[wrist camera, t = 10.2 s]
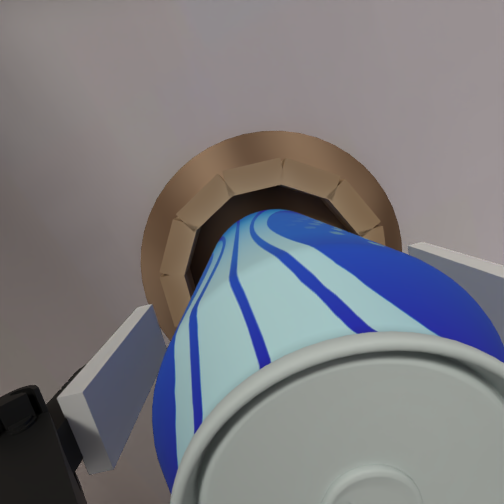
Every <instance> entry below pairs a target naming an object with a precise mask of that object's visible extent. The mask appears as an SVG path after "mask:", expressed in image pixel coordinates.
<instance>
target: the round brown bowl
mask: <svg viewBox="0 0 504 504" xmlns="http://www.w3.org/2000/svg"><path fill="white" fill-rule="evenodd" d="M270 209H282V210H289V211H293V212H297V213H300V214H302V215H305V216H308V217H310V218H313V219H315V220H318V221H321V222H323V223H326V224H329V225H331V226H334V227H337V228H339V229H342V230H345V231H347V232H350V233H352V234H355V235H358V236H360V237H363V238H366V239H368V240H371V241H374V242H376V243H379V244H382V245H384V246H387V247H389V248H392V249H395V250H397V251H400V252H402V242H401V236H400V230H399V225H398V222H397V219H396V216H395V213H394V210H393V207H392V205H391V203H390V201H389V199H388V197H387V195H386V193H385V192H384V190H383V189H382V187H381V186H380V184H379V183H378V182H377V180H376V179H375V177H374V176H373V175H372V174H371V173H370V172H369V171H368V170H367V169H366V168H365V167H364V166H363V165H362V164H361V163H360V162H358V161H357V160H356V159H355V158H354V157H352V156H351V155H350V154H348V153H347V152H345V151H343V150H342V149H340V148H338V147H337V146H335V145H333V144H331V143H328V142H326V141H323V140H321V139H319V138H316V137H312V136H308V135H305V134H301V133H294V132H286V131H261V132H255V133H249V134H243V135H240V136H236V137H233V138H230V139H227V140H224V141H222V142H220V143H218V144H216V145H214V146H211V147H209V148H207V149H206V150H204V151H203V152H201V153H200V154H198V155H197V156H195V157H194V158H192V159H191V160H190V161H189V162H188V163H187V164H185V165H184V166H183V167H182V168H181V169H180V170H179V171H178V172H177V173H176V174H175V175H174V176H173V177H172V179H171V180H170V181H169V182H168V183H167V184H166V186H165V187H164V189H163V190H162V192H161V194H160V195H159V197H158V198H157V200H156V202H155V204H154V206H153V208H152V210H151V213H150V215H149V218H148V221H147V224H146V227H145V230H144V235H143V241H142V247H141V273H142V282H143V286H144V290H145V294H146V298H147V301H148V303H149V304H152V305H153V308H154V311H155V314H156V317H157V320H158V323H159V326H160V328H161V329H162V330H163V332H164V333H165V334H166V336H167V337H168V338H169V340H170V341H171V340H172V337H173V335H174V333H175V331H176V329H177V327H178V325H179V323H180V321H181V318H182V316H183V314H184V312H185V310H186V308H187V306H188V304H189V302H190V299H191V297H192V295H193V293H194V291H195V289H196V287H197V285H198V283H199V280H200V278H201V276H202V274H203V272H204V270H205V268H206V266H207V264H208V261H209V259H210V257H211V255H212V253H213V251H214V249H215V247H216V245H217V243H218V241H219V240H220V238H221V237H222V235H223V234H224V233H225V232H226V231H227V230H228V229H229V228H230V227H231V226H232V225H233V224H234V223H236V222H237V221H239V220H240V219H242V218H244V217H245V216H248V215H250V214H252V213H255V212H259V211H263V210H270Z"/></svg>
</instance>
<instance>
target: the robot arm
mask: <svg viewBox="0 0 504 504" xmlns="http://www.w3.org/2000/svg"><path fill="white" fill-rule="evenodd" d="M408 251H409V255H410V256H413V257H416V258H418V259H420V260H422V261H423V262H425V263H427V264H429V265H431V266H433V267H435V268H436V269H438V270H439V271H441V272H442V273H444V274H445V275H447V276H448V277H450V278H451V279H453V280H454V281H455V282H456V283H457V284H459V285H460V286H461V287H462V288H463V289H465V290H466V291H467V292H468V293H469V295H470V296H471V297H472V298H473V299H474V300H475V301H476V302H477V303H478V304H479V306H480V307H481V308H482V309H483V311H484V312H485V314H486V315H487V316H488V318H489V319H490V320H491V322H492V323H493V325H494V327H495V329H496V330H497V332H498V334H499V336H500V338H501V341H502V343H503V345H504V265H500V264H497V263H493V262H490V261H487V260H483V259H480V258H476V257H473V256H469V255H466V254H463V253H459V252H456V251H452V250H449V249H445V248H442V247H439V246H435V245H432V244H428V243H425V242H421V243H416V244H412V245H408ZM166 350H167V348H166V345H165V342H164V339H163V336H162V333H161V330H160V327H159V323H158V320H157V317H156V314H155V311H154V308H153V305H152V304H149V305H145V306H141V307H137V308H136V309H135V311H134V312H133V313H132V314H131V315H130V316H129V317H128V318H127V320H126V321H125V322H124V323H123V324H122V325H121V326H120V327H119V329H118V330H117V331H116V332H115V333H114V334H113V335H112V336H111V338H110V339H109V340H108V341H107V342H106V343H105V344H104V345H103V347H102V348H101V349H100V350H99V351H98V352H97V353H96V354H95V355H94V357H93V358H92V359H91V360H90V361H89V362H88V363H87V364H86V365H84V366H83V367H82V368H80V369H79V370H78V371H76V372H75V374H74V375H73V376H72V377H71V378H70V379H69V380H68V382H66V383H65V385H64V386H63V387H62V389H61V390H59V391H58V392H57V393H56V394H55V395H54V397H53V398H52V399H51V400H50V401H49V402H48V403H47V404H45V401H44V399H43V397H42V395H41V392H40V390H39V388H38V387H37V386H36V385H29V386H25V387H22V388H19V389H16V390H14V391H12V392H9V393H8V394H6V395H4V396H2V397H0V504H87V502H86V499H85V496H84V493H83V490H82V488H81V485H80V482H79V479H78V477H77V475H76V473H75V471H76V469H77V468H78V466H79V464H80V463H81V461H82V459H83V461H84V464H85V466H86V468H87V471H88V473H89V475H91V474H96V473H100V472H105V471H109V470H114V468H115V465H116V463H117V461H118V459H119V457H120V455H121V452H122V450H123V448H124V446H125V444H126V442H127V439H128V437H129V435H130V433H131V431H132V429H133V426H134V424H135V422H136V420H137V418H138V415H139V413H140V411H141V409H142V407H143V405H144V402H145V400H146V398H147V396H148V394H149V392H150V389H151V387H152V385H153V383H154V381H155V379H156V376H157V374H158V372H159V369H160V366H161V363H162V360H163V358H164V355H165V352H166Z"/></svg>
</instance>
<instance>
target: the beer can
mask: <svg viewBox="0 0 504 504" xmlns="http://www.w3.org/2000/svg"><path fill="white" fill-rule="evenodd" d="M152 424H153V434H154V443H155V448H156V452H157V457H158V460H159V463H160V466H161V469H162V472H163V474H164V477H165V480H166V482H167V485H168V488H169V490H170V493H171V500H170V504H504V345H503V343H502V341H501V338H500V336H499V334H498V332H497V330H496V329H495V327H494V325H493V323H492V322H491V320H490V319H489V318H488V316H487V315H486V314H485V312H484V311H483V309H482V308H481V307H480V306H479V304H478V303H477V302H476V301H475V300H474V299H473V298H472V297H471V296H470V295H469V293H468V292H467V291H466V290H465V289H463V288H462V287H461V286H460V285H459V284H457V283H456V282H455V281H454V280H453V279H451V278H450V277H448V276H447V275H445V274H444V273H442V272H441V271H439V270H438V269H436V268H435V267H433V266H431V265H429V264H427V263H425V262H423V261H422V260H420V259H418V258H416V257H413V256H410V255H408V254H405V253H403V252H400V251H397V250H395V249H392V248H389V247H387V246H384V245H382V244H379V243H376V242H374V241H371V240H368V239H366V238H363V237H360V236H358V235H355V234H352V233H350V232H347V231H345V230H342V229H339V228H337V227H334V226H331V225H329V224H326V223H323V222H321V221H318V220H315V219H313V218H310V217H308V216H305V215H302V214H300V213H297V212H293V211H289V210H282V209H270V210H263V211H259V212H255V213H252V214H250V215H248V216H245V217H244V218H242V219H240V220H239V221H237V222H236V223H234V224H233V225H232V226H231V227H230V228H229V229H228V230H227V231H226V232H225V233H224V234H223V235H222V237H221V238H220V240H219V241H218V243H217V245H216V247H215V249H214V251H213V253H212V255H211V257H210V259H209V261H208V264H207V266H206V268H205V270H204V272H203V274H202V276H201V278H200V280H199V283H198V285H197V287H196V289H195V291H194V293H193V295H192V297H191V299H190V302H189V304H188V306H187V308H186V310H185V312H184V314H183V316H182V318H181V321H180V323H179V325H178V327H177V329H176V331H175V333H174V335H173V337H172V340H171V342H170V344H169V346H168V348H167V350H166V352H165V355H164V358H163V360H162V363H161V366H160V369H159V373H158V377H157V381H156V385H155V390H154V397H153V406H152Z"/></svg>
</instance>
